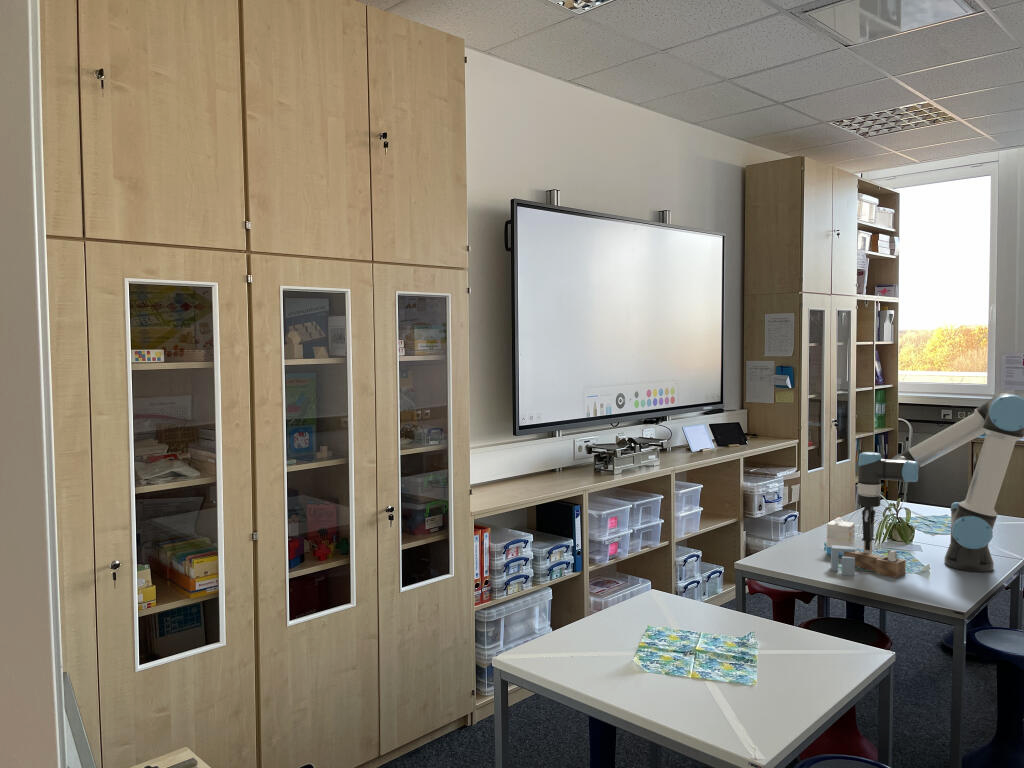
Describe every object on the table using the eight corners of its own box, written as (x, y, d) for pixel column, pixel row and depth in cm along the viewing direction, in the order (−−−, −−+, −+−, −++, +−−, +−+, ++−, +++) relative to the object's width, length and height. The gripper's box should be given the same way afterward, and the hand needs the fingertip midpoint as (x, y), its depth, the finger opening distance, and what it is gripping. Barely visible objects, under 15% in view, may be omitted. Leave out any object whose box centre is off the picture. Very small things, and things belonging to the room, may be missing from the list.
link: (905, 573, 259) (905, 559, 259) (896, 577, 255) (896, 563, 255) (850, 561, 274) (851, 548, 274) (841, 565, 270) (841, 551, 270)
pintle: (896, 573, 260) (897, 551, 259) (895, 575, 257) (896, 553, 257) (888, 572, 261) (888, 549, 261) (886, 574, 259) (887, 551, 258)
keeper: (853, 569, 265) (854, 546, 265) (856, 575, 258) (856, 552, 257) (831, 567, 267) (831, 545, 267) (832, 573, 260) (833, 550, 260)
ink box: (849, 557, 280) (850, 522, 279) (826, 553, 285) (826, 519, 285) (854, 552, 287) (855, 518, 286) (832, 548, 292) (832, 515, 291)
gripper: (860, 490, 278) (859, 552, 279) (854, 496, 267) (853, 560, 269) (882, 492, 274) (881, 555, 275) (877, 498, 263) (876, 564, 264)
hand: (867, 558), depth 272 cm, fingers closed
